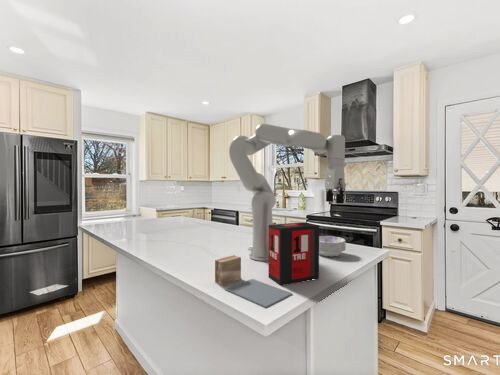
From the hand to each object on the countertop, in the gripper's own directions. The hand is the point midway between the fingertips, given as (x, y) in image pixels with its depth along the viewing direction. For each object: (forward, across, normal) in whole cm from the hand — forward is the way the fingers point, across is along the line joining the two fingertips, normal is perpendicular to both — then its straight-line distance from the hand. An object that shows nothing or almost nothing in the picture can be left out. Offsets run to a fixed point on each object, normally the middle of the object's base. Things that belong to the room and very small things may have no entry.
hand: (334, 202), depth 116 cm
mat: (+28, +25, -38) cm, 54 cm away
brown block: (+28, +13, -47) cm, 57 cm away
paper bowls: (+28, -15, +5) cm, 32 cm away
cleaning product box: (+28, +15, -23) cm, 39 cm away
